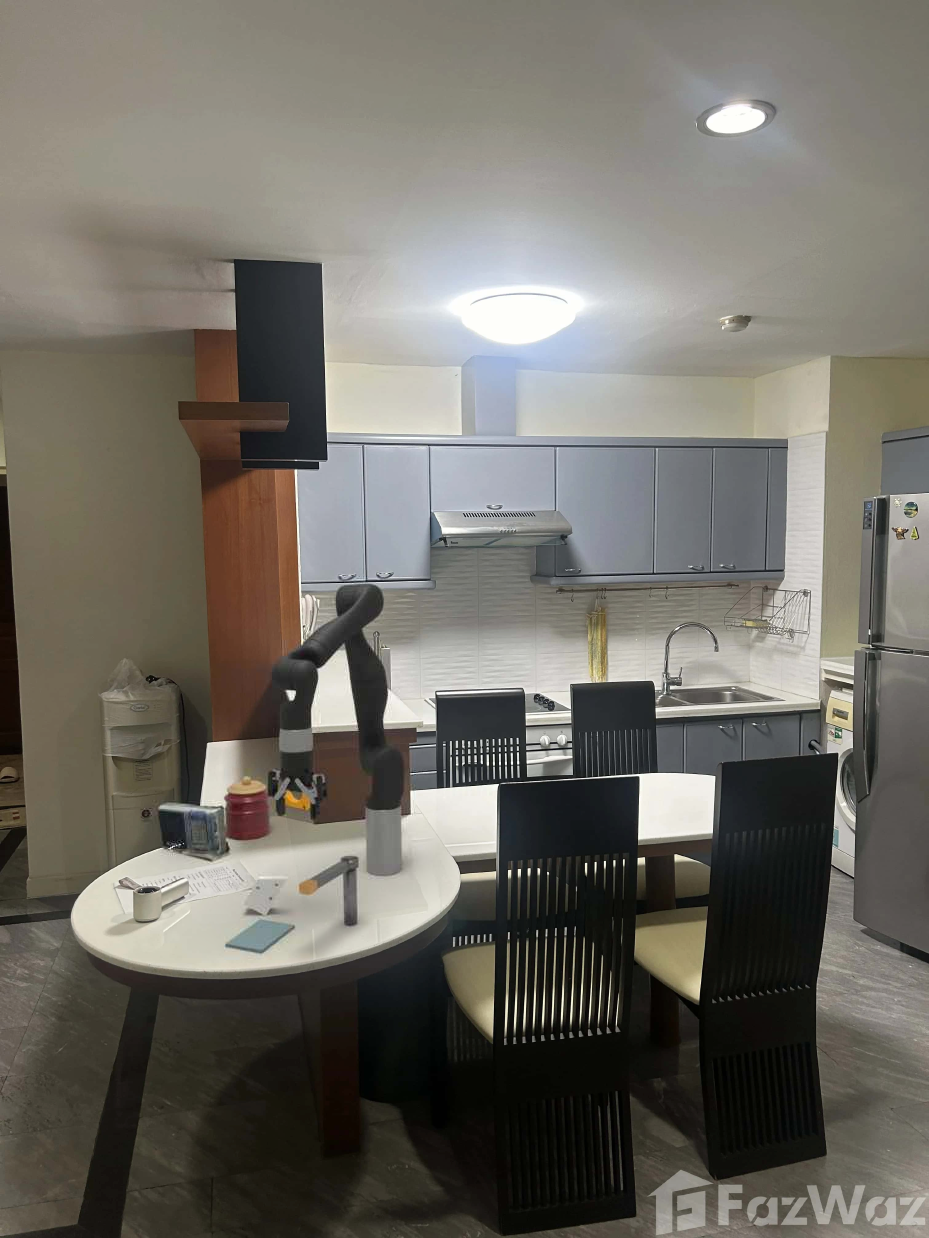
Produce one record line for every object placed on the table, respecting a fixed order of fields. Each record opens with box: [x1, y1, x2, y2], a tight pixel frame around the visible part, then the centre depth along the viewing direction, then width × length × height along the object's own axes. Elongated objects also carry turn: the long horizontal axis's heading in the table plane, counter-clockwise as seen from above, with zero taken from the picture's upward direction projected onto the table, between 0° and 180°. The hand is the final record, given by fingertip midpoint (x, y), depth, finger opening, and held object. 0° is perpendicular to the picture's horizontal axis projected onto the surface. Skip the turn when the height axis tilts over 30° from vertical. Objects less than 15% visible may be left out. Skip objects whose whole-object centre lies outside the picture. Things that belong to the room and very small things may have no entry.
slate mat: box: [224, 918, 296, 955], centre depth 191 cm, size 13×9×1 cm
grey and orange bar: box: [298, 855, 360, 896], centre depth 190 cm, size 19×4×2 cm, turn 154°
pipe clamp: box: [284, 791, 310, 811], centre depth 286 cm, size 12×4×6 cm, turn 56°
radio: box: [157, 802, 231, 863], centre depth 244 cm, size 23×8×14 cm, turn 54°
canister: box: [223, 775, 271, 841], centre depth 258 cm, size 13×13×18 cm
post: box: [342, 868, 358, 927], centre depth 198 cm, size 3×3×13 cm
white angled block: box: [243, 875, 289, 916], centre depth 204 cm, size 4×10×9 cm, turn 92°
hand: (298, 817), depth 201 cm, fingers open, 8 cm apart
